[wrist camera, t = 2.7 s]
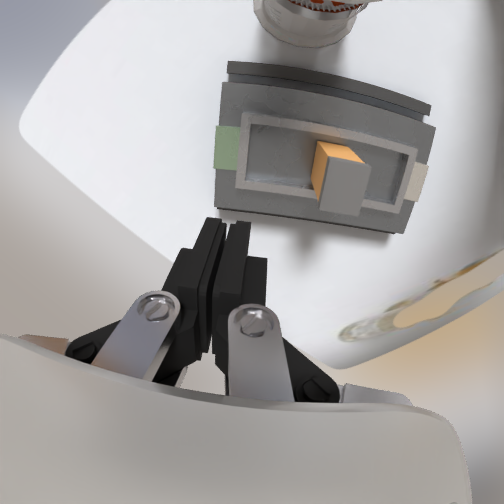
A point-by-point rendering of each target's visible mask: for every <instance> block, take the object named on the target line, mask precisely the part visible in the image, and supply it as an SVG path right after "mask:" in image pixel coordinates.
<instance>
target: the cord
mask: <svg viewBox="0 0 504 504" xmlns="http://www.w3.org/2000/svg"><path fill="white" fill-rule="evenodd" d="M227 73H230V74H245V75H257V76H266V77H275V78H283V79H290V80H296V81H302V82H308V83H314V84H319V85H324V86H329V87H334V88H338V89H342V90H347V91H351V92H355V93H359V94H362V95H366V96H370V97H373V98H377V99H380V100H383V101H387V102H390V103H393V104H396V105H399V106H402V107H405V108H408V109H411V110H414V111H416V112H419V113H422V114H424V115H427V116H429V115H430V110H431V105H429V104H426V103H424V102H421V101H419V100H416V99H414V98H411V97H408V96H405V95H403V94H400V93H397V92H394V91H391V90H388V89H385V88H381V87H378V86H375V85H371V84H368V83H364V82H361V81H357V80H353V79H349V78H345V77H341V76H336V75H332V74H327V73H322V72H317V71H312V70H306V69H300V68H294V67H287V66H280V65H272V64H263V63H252V62H238V61H228V65H227Z"/></svg>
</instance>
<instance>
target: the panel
mask: <svg viewBox="0 0 504 504" xmlns="http://www.w3.org/2000/svg"><path fill="white" fill-rule="evenodd" d="M435 130H436V127H433V126H431V125H428V124H426V123H423V122H421V121H418V120H415V119H412V118H409V117H406V116H403V115H400V114H397V113H394V112H391V111H388V110H385V109H381V108H378V107H374V106H371V105H367V104H363V103H359V102H355V101H351V100H347V99H343V98H339V97H334V96H329V95H324V94H319V93H314V92H309V91H303V90H297V89H290V88H283V87H276V86H267V85H258V84H247V83H234V82H222V92H221V104H220V116H219V126H216V135H215V151H214V168H215V169H216V179H215V199H214V207H221V208H230V209H238V210H247V211H255V212H263V213H271V214H279V215H286V216H293V217H301V218H308V219H314V220H321V221H328V222H334V223H341V224H347V225H353V226H360V227H366V228H372V229H377V230H383V231H389V232H394V233H400V234H403V233H404V231H405V228H406V225H407V223H408V220H409V217H410V214H411V212H412V209H413V206H414V203H415V202H418V199H419V196H420V193H421V190H422V187H423V184H424V181H425V178H426V174H427V171H428V168H429V166H428V165H427V161H428V158H429V154H430V150H431V146H432V142H433V138H434V134H435ZM317 141H321V142H327V143H332V144H337V145H342V146H347V147H349V148H350V149H351V150H352V151H353V152H354V153H355V154H356V155H357V156H358V157H359V158H360V159H361V160H362V161H363V162H364V163H365V164H369V165H370V166H371V167H372V168H371V172H370V176H369V180H368V184H367V187H366V191H365V195H364V198H363V202H362V205H361V209H360V212H359V216H352V215H346V214H340V213H334V212H328V211H322V210H319V209H318V199H317V196H316V193H315V190H314V187H313V184H312V182H311V173H312V168H313V163H314V157H315V152H316V146H317Z"/></svg>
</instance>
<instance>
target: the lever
mask: <svg viewBox="0 0 504 504" xmlns="http://www.w3.org/2000/svg"><path fill="white" fill-rule="evenodd" d="M371 168H372V167H371V166H370V165H369V164H365V163H364V162H363V161H362V160H361V159H360V158H359V157H358V156H357V155H356V154H355V153H354V152H353V151H352V150H351V149H350V148H349V147H347V146H342V145H337V144H332V143H327V142H321V141H317V146H316V152H315V157H314V163H313V168H312V173H311V182H312V184H313V187H314V190H315V193H316V196H317V199H318V209H319V210H322V211H328V212H334V213H340V214H346V215H352V216H359V212H360V209H361V205H362V202H363V198H364V195H365V191H366V187H367V184H368V180H369V176H370V172H371Z"/></svg>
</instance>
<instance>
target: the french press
mask: <svg viewBox="0 0 504 504" xmlns="http://www.w3.org/2000/svg"><path fill="white" fill-rule="evenodd" d="M377 1H382V0H253V3H254V12H255V14H256V16H257V18H258V20H259V21H260V23H261V25H262V27H263V28H265V29H266V30H267V31H268V32H270V33H271V34H272V35H273V36H275V37H276V38H277V39H279V40H282V41H284V42H287V43H290V44H292V45H295V46H297V47H314V48H319V47H322V46H326V45H330V44H333V43H337V42H338V41H339V40H340V39H342V38H343V37H344V36H346V35H347V34H348V33H350V31H351V29H352V27H353V25H354V22H355V20H356V18H357V17H356V15H357V14H358V13H359V12H361V11H362V10H363V9H365V8H366V7H367V5H368V3H369V2H377ZM363 4H364V5H363ZM362 5H363V6H362ZM360 6H361V7H362V8H361V7H360ZM359 7H360V8H361V9H360V8H359ZM358 8H359V10H360V11H359V10H358ZM357 10H358V11H357ZM356 11H357V12H356Z"/></svg>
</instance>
